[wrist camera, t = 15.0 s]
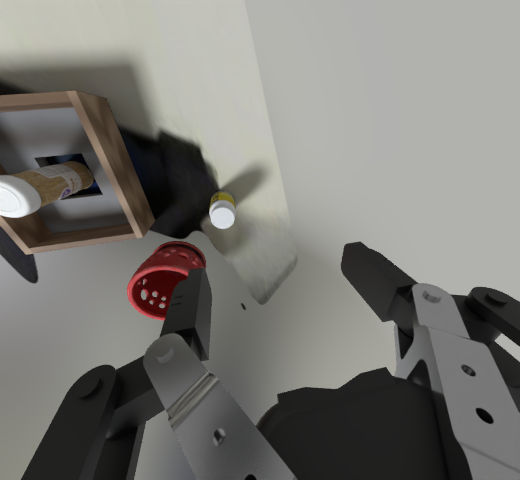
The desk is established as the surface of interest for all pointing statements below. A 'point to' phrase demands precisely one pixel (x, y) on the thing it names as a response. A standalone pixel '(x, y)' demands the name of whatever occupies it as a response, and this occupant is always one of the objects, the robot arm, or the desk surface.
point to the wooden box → (97, 158)
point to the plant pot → (163, 276)
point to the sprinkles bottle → (41, 187)
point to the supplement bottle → (222, 209)
